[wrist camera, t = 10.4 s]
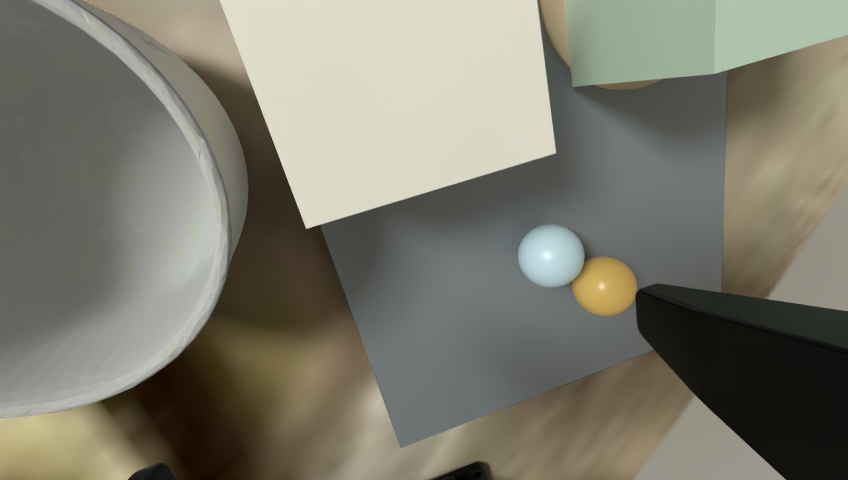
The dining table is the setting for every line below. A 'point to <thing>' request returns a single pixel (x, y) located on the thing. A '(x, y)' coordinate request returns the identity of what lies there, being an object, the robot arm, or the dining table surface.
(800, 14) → the frosted jade cube
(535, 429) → the dining table surface
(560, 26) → the tan flat disc
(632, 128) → the slate board
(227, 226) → the teacup
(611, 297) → the amber marble
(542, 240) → the pale blue marble
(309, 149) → the ivory cube
